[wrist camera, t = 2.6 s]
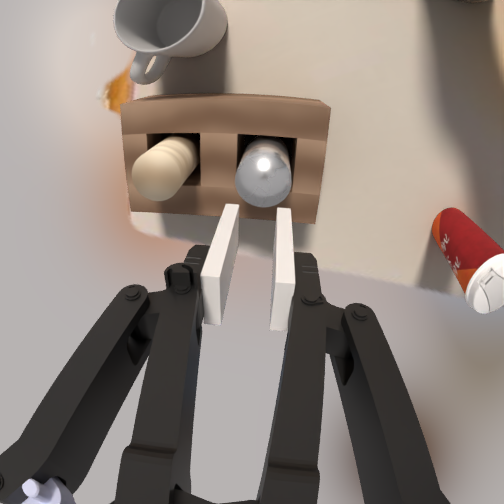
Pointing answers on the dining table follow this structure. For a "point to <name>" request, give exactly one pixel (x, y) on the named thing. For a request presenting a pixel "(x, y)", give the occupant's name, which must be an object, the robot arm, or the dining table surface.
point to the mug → (167, 31)
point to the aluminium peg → (264, 172)
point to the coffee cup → (472, 259)
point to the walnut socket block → (228, 148)
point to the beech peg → (166, 166)
